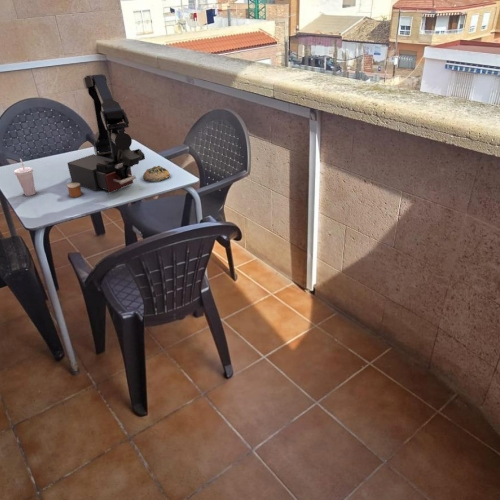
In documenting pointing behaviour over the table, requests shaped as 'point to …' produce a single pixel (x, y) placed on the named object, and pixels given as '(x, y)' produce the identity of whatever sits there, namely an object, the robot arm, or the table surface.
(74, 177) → the drawer box with handle
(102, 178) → the drawer
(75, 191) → the cylinder
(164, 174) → the bread roll
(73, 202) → the table surface
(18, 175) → the smoothie
